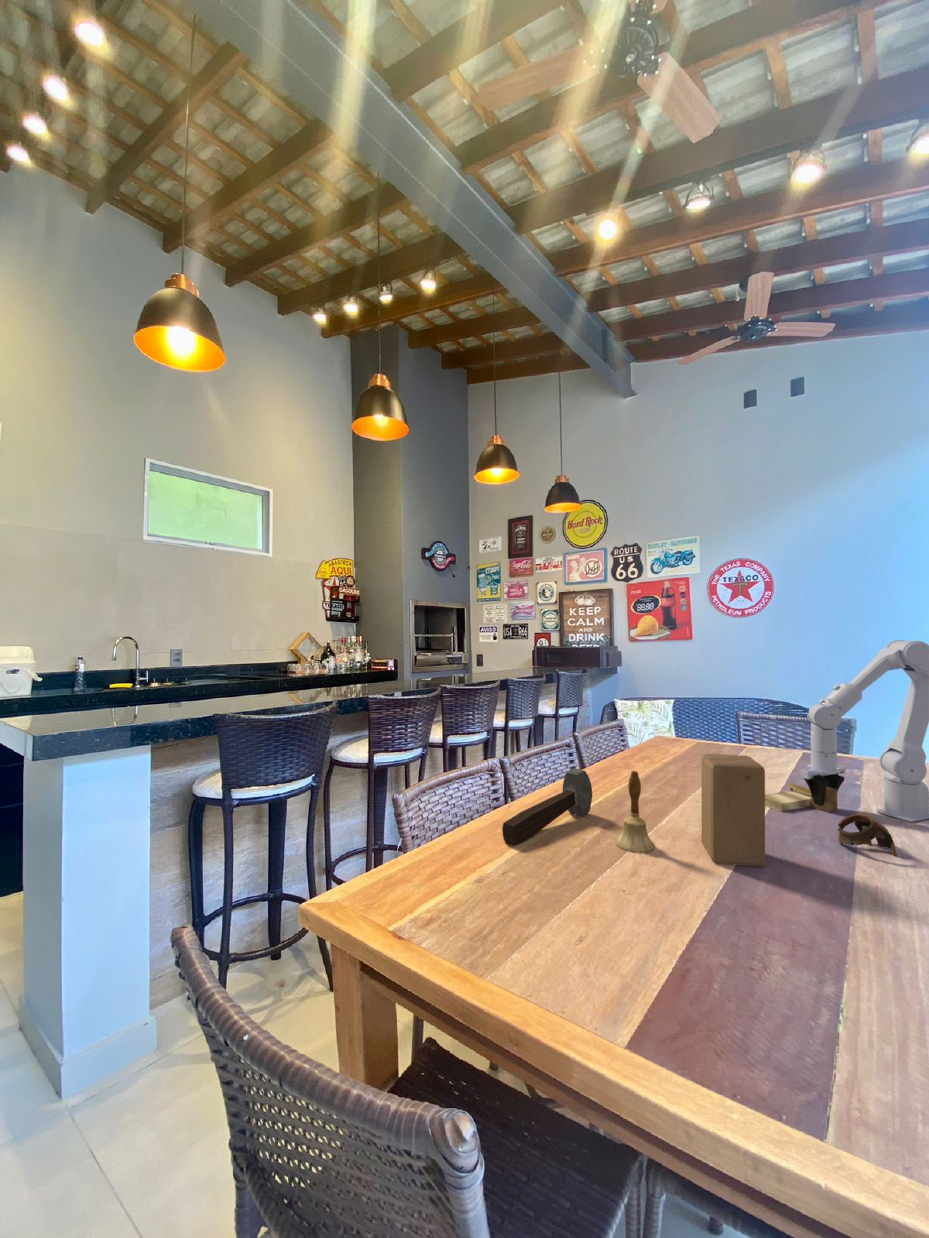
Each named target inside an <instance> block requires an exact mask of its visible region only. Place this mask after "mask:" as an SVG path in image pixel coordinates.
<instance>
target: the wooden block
mask: <svg viewBox="0 0 929 1238" xmlns="http://www.w3.org/2000/svg"><path fill="white" fill-rule="evenodd" d="M765 795H766V771H765V768H764V766H763V765H761V764H760V763H758V762H757V761H756V760H754V759H753V758H752V757H750V756H749V755H739V754H737V755H736V754H720V753H719V754H718V753H717V754H715V753H706V754H702V756H701V843H702V846H703V848H704V849H705V851H706V853H707V854H708V856H709V858H710V860H711V861H712V862H713V863H715V864H727V865H738V866H749V867H760V868H761V867H764V866H765V864H766V806H765Z"/></svg>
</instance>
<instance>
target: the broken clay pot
mask: <svg viewBox="0 0 929 1238" xmlns="http://www.w3.org/2000/svg"><path fill="white" fill-rule="evenodd" d="M850 824H854V826H855V828H856V829H857V830H858V831H855V832H854V831H853V832H850V831H846V830H844V829H845V827H847V826H849V825H850ZM837 825H838V828H837V831H838V836H837V837H838V839H837V840H838V841H839V844H840V846H842V847H843V846H844V844H845V845H849V846H854V845H855V846H860V845H868V846H870V847H873V843H872V840H874V839H875V840H876V842H877V846H878V847H879V848H881V847H882V848H886V849H890V850H891V851H892V855H893V857H897V856H898V853H897V849H896V844H895V842H894V839H893V837H892V834H891V833H890V831H889V830H888V828H886V827H885V826H884V825H883V824H882V823H880V822H879V821H876V820H875V819H874V818H873V816H871V815H868V814H866V813H856V814H855V813H854V814H851V815H848V816H846V817H843V818H842V819H841V820H840V821H839V822H838V824H837Z"/></svg>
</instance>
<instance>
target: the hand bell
mask: <svg viewBox="0 0 929 1238" xmlns="http://www.w3.org/2000/svg"><path fill="white" fill-rule="evenodd" d="M641 791H642V785H641V779H640V776H639V772H638V771H637V770H632V771H631V772H630V777H629V779H628V793H629V796H630V816H626V817H625V818H624V819H623V825H622V826H623V827H622V830H621V833H620V834H619V835H618V836H617V837H616V838H615V840H614V844H615V845H616V846H617V847H618V848H620V849H621V850H623V849H624V851H626V850H627V852H629V853H630V852H632V853H636V852H646V853H649V852H652V850H653V849H654V850H655V848H656V846H655V845H656V844H654V841H653V840H652V839H650V836H649V834H648V831H647V824H646V820H645V819H643V818H641V817H640V811H639V809H640V808H639V807H640V806H639V801H640V795H641ZM654 850H653V851H654Z"/></svg>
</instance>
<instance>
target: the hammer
mask: <svg viewBox="0 0 929 1238" xmlns="http://www.w3.org/2000/svg"><path fill="white" fill-rule="evenodd" d="M591 782H592V781H591V779H590V777H589V774H588V773H587V771H586V770H583V769H579V768H577V767H576V768H571V769H569V771H567V772H566V774H565V775H564V777H563V784H562V791H561V792H560V793H558V794H556V795H553V796H552V797H550V798H549V797H548V798H547V799H544V800H543V801H541V802H539V803H537V804H535V805H532V806H531V807H529V808H527V809H524V810H522V811H520V812H519V813H517V814H516V815H514V816H513V817H511V818H509V819H508V820H506V821H505V822H503V824H502V827H501V828H502V839H503V841H504V842H505V843H507V844H509V845H512V846H514V847H516V846H517V845H520V844H523V843H524V842H525V841H528V840H529V839H531V838H533V837H534V836H535V835H537V834H538V833H539V832H540V831H542V830H543V829H545V828H546V827H547V826H548V825H550V824H551V823H553V822H554V821H555V820H556V819H558V818H560V816H561V815H563V814H564V813H566V812H569V813H570V814H573V815H575V814H576V816H578V817H583V818H584V817H586V816H587V815H588V814H589V813H590V811H591V806H592V801H593V787H592V786H593V785H592V783H591Z"/></svg>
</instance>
